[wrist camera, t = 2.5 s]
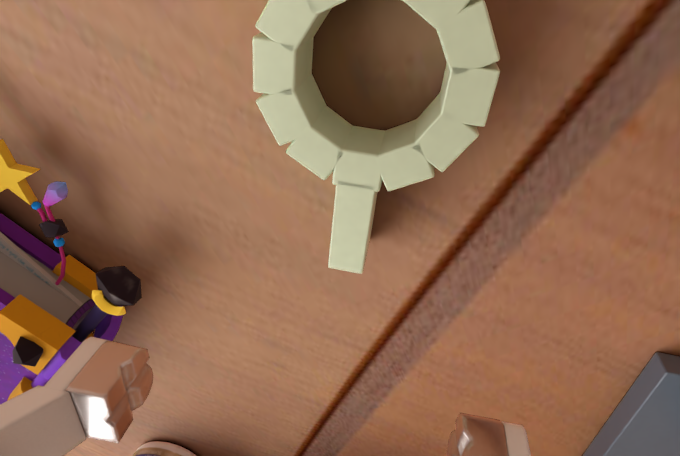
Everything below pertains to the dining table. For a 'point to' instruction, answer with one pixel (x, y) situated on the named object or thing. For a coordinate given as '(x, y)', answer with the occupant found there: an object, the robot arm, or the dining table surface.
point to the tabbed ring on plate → (365, 143)
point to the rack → (645, 414)
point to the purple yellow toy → (49, 292)
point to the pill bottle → (162, 450)
